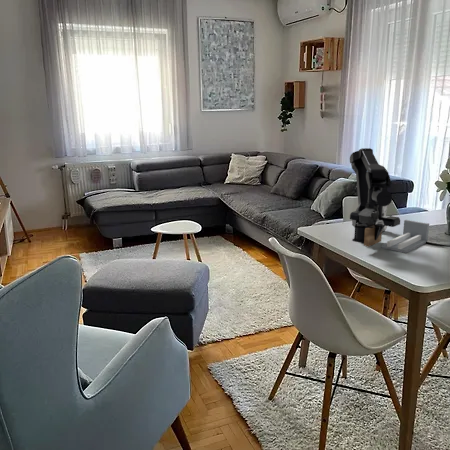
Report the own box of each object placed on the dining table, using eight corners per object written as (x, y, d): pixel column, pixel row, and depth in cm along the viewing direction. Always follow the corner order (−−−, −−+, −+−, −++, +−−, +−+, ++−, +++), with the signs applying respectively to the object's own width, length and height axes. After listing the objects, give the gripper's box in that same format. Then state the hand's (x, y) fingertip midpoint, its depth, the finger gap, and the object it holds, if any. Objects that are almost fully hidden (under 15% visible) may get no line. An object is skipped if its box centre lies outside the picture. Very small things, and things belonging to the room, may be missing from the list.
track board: (381, 247, 180) (383, 228, 177) (404, 237, 193) (405, 219, 191) (405, 252, 172) (407, 233, 170) (427, 242, 186) (429, 223, 184)
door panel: (363, 245, 173) (364, 228, 171) (376, 240, 179) (377, 223, 178) (368, 246, 171) (369, 229, 170) (381, 241, 178) (382, 224, 176)
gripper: (343, 200, 172) (341, 239, 176) (388, 207, 159) (385, 248, 163) (358, 196, 180) (355, 233, 184) (402, 202, 166) (399, 242, 170)
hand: (372, 239), depth 175 cm, fingers closed on door panel, 2 cm apart
